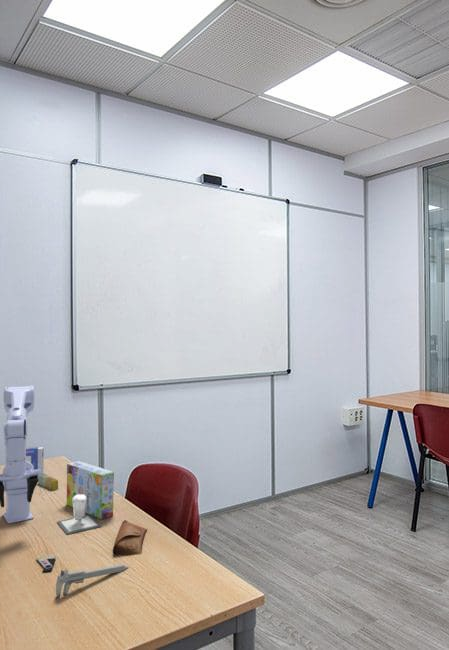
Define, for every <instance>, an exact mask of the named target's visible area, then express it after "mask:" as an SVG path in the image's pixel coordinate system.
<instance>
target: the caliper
mask: <svg viewBox="0 0 449 650" xmlns="http://www.w3.org/2000/svg"><path fill="white" fill-rule="evenodd" d="M129 568H130V567H129V566H128V565H125V564H116V565H112V566H107V567H106V566H105V567H102V568H95V569H91V570H87V571H85V570H83V569H82V570H75V571H70V572H69V570H68V569H67V568H65V570H63V569H61V570H60V574H58V575H57V578H56V583H55V595H56V597H58V598H61V594H63V595H64V596H67V595H68V593H69V590H70V589H71V585H72V584H73V583H74V584H83V583H84V582H85V581H84V580H86V579H91V578H96V577H101V576H106V575H107V576H108V575H112V574H116V573H120V572H124V571H125V570H127V569H129ZM63 584H64V586H63ZM62 589H63V590H62ZM62 591H63V592H62Z"/></svg>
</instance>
